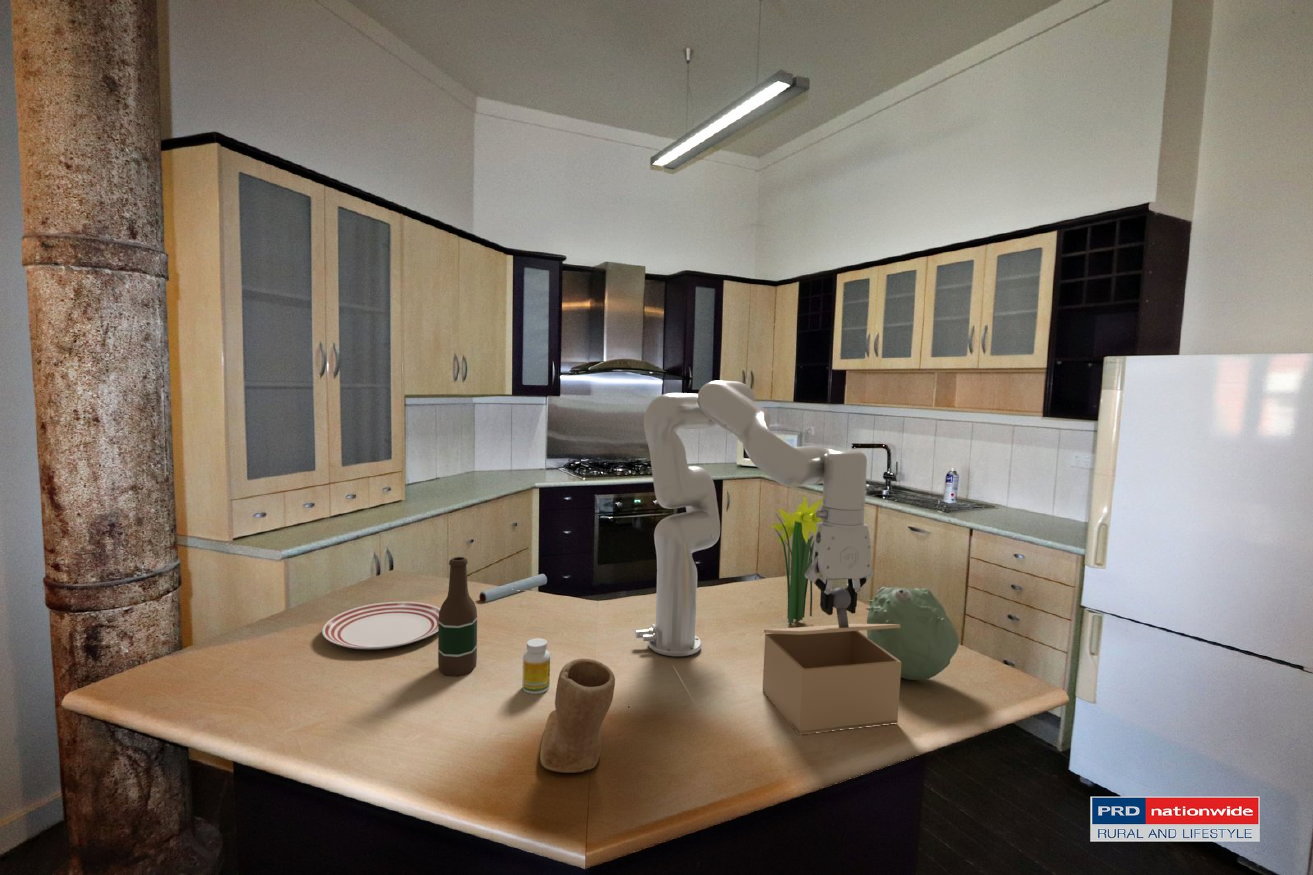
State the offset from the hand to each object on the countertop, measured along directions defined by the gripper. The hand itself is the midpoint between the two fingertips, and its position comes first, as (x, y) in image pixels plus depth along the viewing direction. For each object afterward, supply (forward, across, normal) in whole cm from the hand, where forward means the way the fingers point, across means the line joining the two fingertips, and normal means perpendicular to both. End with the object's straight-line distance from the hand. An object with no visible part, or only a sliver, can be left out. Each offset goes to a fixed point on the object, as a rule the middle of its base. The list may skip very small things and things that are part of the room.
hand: (838, 610), depth 112 cm
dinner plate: (+20, -90, +51) cm, 105 cm away
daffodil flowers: (+20, +14, +45) cm, 51 cm away
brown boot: (+20, -49, -3) cm, 53 cm away
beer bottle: (+20, -71, +30) cm, 80 cm away
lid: (+8, 0, +10) cm, 13 cm away
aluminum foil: (+20, -59, +76) cm, 98 cm away
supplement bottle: (+20, -55, +19) cm, 62 cm away
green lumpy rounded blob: (+20, +24, +11) cm, 33 cm away
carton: (+20, 0, +2) cm, 20 cm away
